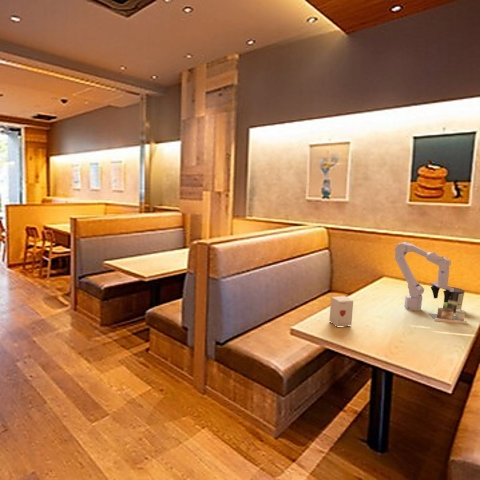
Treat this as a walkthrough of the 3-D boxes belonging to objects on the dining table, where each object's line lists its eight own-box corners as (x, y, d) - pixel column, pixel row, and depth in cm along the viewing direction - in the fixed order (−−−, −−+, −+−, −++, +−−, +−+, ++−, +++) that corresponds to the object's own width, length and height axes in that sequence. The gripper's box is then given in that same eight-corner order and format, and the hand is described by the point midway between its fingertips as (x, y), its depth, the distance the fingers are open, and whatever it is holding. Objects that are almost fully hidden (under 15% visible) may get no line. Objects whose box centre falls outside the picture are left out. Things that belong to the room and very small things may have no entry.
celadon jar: (456, 321, 208) (457, 310, 207) (453, 318, 213) (454, 307, 212) (465, 322, 208) (467, 311, 207) (462, 319, 212) (463, 308, 211)
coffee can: (446, 313, 226) (450, 291, 223) (439, 307, 236) (442, 286, 233) (464, 314, 225) (468, 292, 222) (456, 308, 235) (459, 287, 233)
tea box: (440, 320, 211) (441, 310, 210) (437, 317, 215) (438, 307, 214) (452, 320, 210) (453, 310, 209) (449, 318, 214) (450, 308, 213)
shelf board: (434, 322, 209) (435, 318, 209) (428, 314, 222) (428, 311, 222) (466, 325, 206) (466, 321, 206) (457, 317, 219) (458, 314, 218)
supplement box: (337, 328, 196) (339, 301, 194) (328, 322, 205) (330, 296, 203) (351, 326, 199) (353, 300, 197) (343, 321, 207) (344, 295, 205)
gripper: (428, 275, 223) (425, 297, 225) (448, 281, 209) (445, 304, 211) (437, 275, 225) (434, 296, 227) (457, 280, 212) (454, 303, 213)
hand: (440, 300), depth 219 cm, fingers open, 7 cm apart
